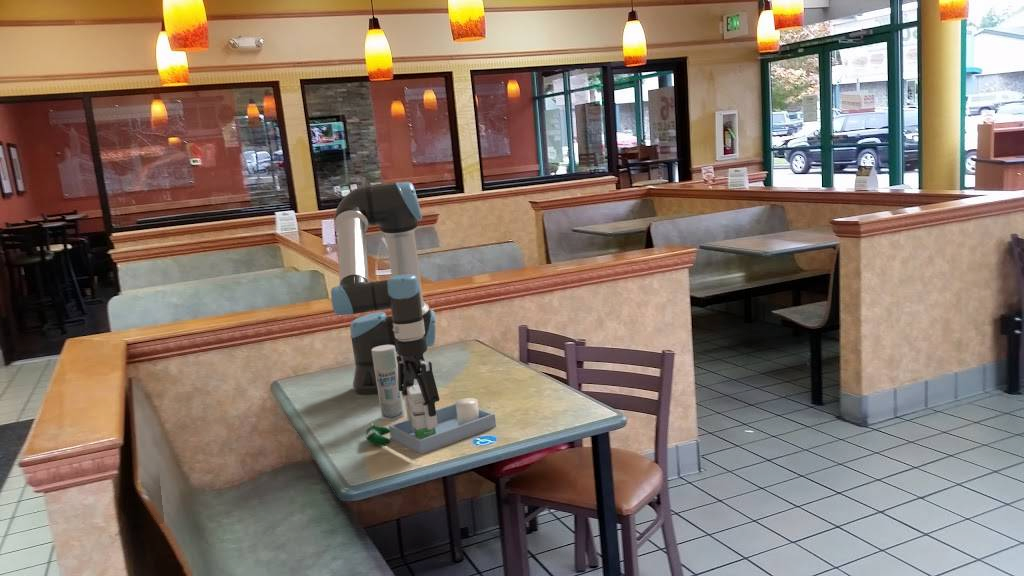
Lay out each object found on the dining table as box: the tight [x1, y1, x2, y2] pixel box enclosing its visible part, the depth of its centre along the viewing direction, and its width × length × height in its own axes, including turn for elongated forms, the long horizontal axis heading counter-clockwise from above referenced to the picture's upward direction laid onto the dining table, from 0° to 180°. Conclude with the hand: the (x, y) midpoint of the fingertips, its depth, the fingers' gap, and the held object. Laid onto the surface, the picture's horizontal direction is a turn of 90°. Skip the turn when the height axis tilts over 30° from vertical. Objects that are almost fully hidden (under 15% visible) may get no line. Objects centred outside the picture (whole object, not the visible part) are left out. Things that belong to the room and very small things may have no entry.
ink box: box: [407, 383, 436, 439], centre depth 191 cm, size 9×5×12 cm, turn 17°
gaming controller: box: [365, 422, 391, 447], centre depth 195 cm, size 9×4×6 cm
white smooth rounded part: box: [455, 397, 479, 426], centre depth 195 cm, size 6×6×7 cm
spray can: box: [371, 345, 405, 422], centre depth 211 cm, size 6×6×20 cm
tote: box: [388, 402, 497, 455], centre depth 194 cm, size 16×22×4 cm
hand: (422, 423), depth 192 cm, fingers closed on ink box, 9 cm apart
